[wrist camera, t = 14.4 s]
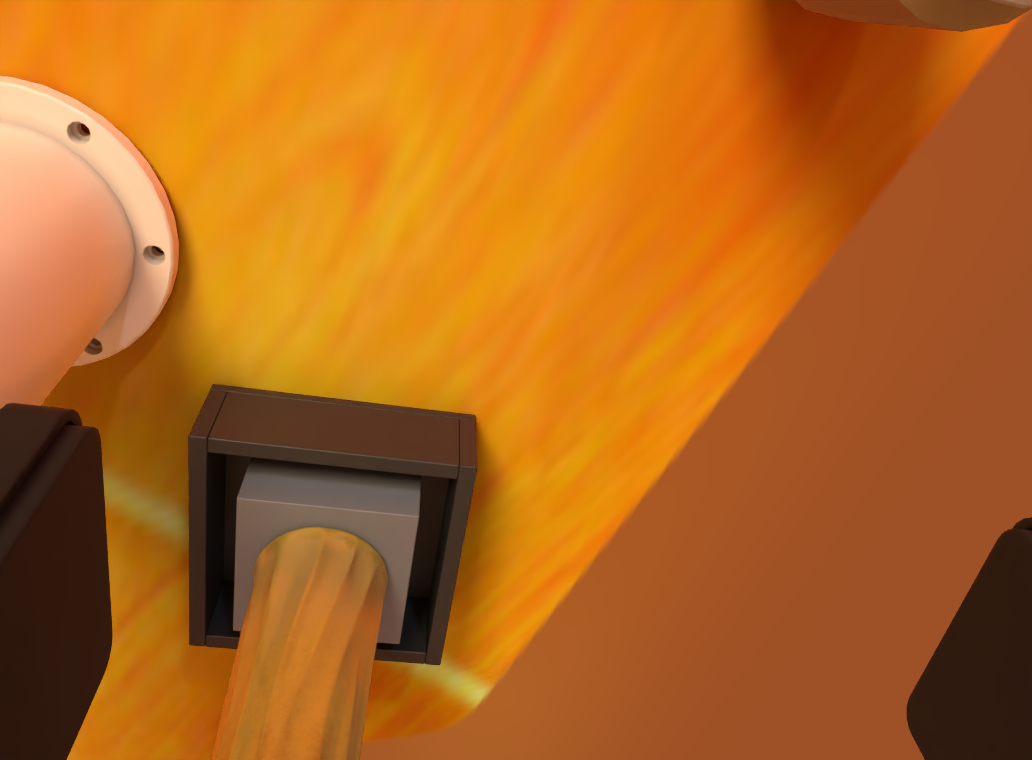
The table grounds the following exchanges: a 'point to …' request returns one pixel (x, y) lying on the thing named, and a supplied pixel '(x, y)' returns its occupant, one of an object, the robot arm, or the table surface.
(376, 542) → the block
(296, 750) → the vase
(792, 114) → the table surface
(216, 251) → the table surface
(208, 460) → the crate
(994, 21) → the squeeze bottle
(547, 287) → the table surface
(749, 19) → the table surface
